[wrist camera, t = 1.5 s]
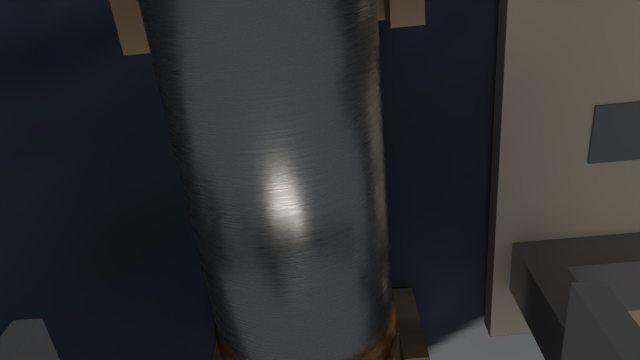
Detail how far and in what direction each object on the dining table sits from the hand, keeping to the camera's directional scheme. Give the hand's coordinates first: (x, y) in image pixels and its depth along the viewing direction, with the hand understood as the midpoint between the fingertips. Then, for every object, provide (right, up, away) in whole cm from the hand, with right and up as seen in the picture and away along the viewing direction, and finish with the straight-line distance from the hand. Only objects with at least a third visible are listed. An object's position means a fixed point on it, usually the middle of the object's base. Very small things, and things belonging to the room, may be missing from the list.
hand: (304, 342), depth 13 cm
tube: (0, +3, +6) cm, 7 cm away
